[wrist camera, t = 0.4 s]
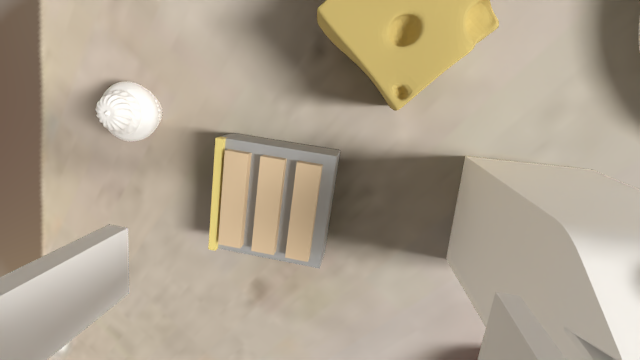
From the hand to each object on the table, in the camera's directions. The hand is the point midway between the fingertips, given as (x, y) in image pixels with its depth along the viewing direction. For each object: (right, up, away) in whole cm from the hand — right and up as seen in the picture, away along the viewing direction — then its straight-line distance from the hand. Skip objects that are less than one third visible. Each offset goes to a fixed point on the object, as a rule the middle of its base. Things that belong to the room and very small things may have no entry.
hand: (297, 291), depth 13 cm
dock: (-4, +2, +28) cm, 28 cm away
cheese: (+9, +18, +22) cm, 30 cm away
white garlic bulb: (-18, +12, +28) cm, 35 cm away
